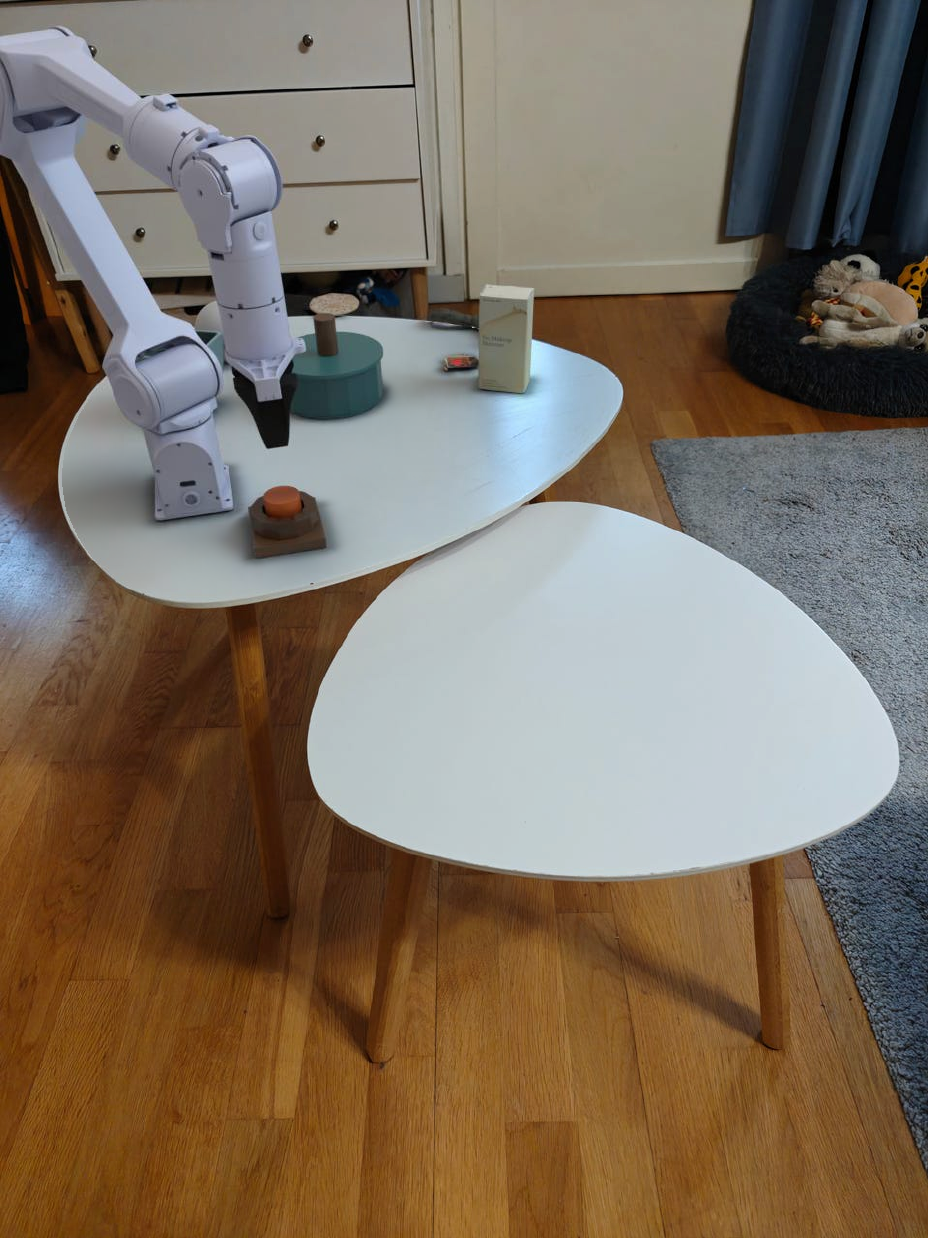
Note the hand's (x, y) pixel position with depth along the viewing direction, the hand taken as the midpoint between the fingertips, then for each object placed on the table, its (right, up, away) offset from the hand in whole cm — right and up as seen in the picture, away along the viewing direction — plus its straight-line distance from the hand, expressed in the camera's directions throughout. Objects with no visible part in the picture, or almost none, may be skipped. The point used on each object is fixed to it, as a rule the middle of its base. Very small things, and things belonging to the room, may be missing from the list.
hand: (276, 441), depth 90 cm
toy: (+18, +28, +45) cm, 56 cm away
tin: (+1, +12, +31) cm, 33 cm away
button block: (0, -8, +7) cm, 10 cm away
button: (0, -6, +5) cm, 8 cm away
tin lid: (+1, +16, +28) cm, 32 cm away
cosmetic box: (+23, +13, +33) cm, 42 cm away
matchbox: (+17, +18, +38) cm, 46 cm away
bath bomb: (-14, +19, +41) cm, 48 cm away
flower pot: (-17, +9, +29) cm, 34 cm away
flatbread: (-2, +31, +56) cm, 64 cm away
